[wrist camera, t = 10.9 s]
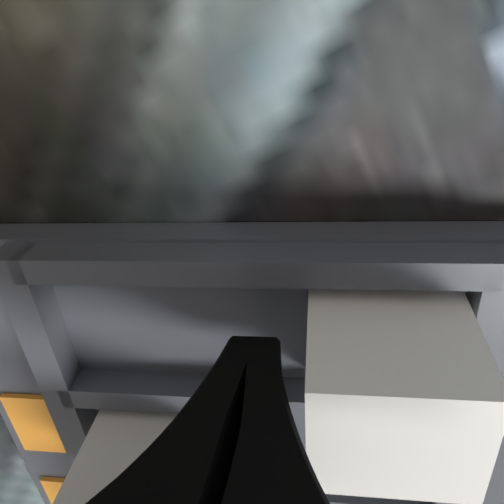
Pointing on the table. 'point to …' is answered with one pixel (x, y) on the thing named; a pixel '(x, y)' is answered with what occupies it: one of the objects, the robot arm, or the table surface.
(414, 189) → the table surface
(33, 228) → the switch bank
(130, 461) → the white block
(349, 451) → the white block
